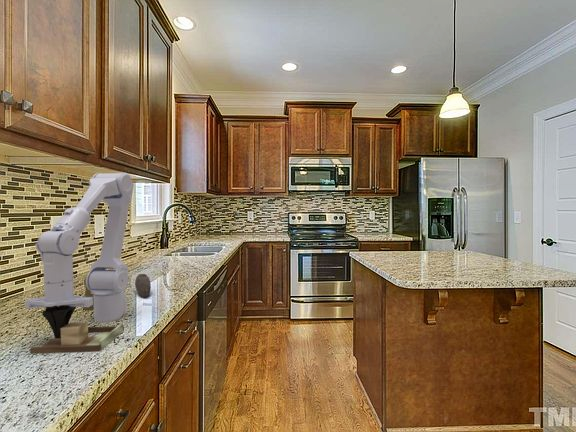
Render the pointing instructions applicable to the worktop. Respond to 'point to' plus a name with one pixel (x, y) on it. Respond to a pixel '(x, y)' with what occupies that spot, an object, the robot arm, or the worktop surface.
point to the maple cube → (74, 333)
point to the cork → (88, 294)
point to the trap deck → (86, 346)
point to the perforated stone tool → (143, 285)
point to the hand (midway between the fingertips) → (60, 336)
